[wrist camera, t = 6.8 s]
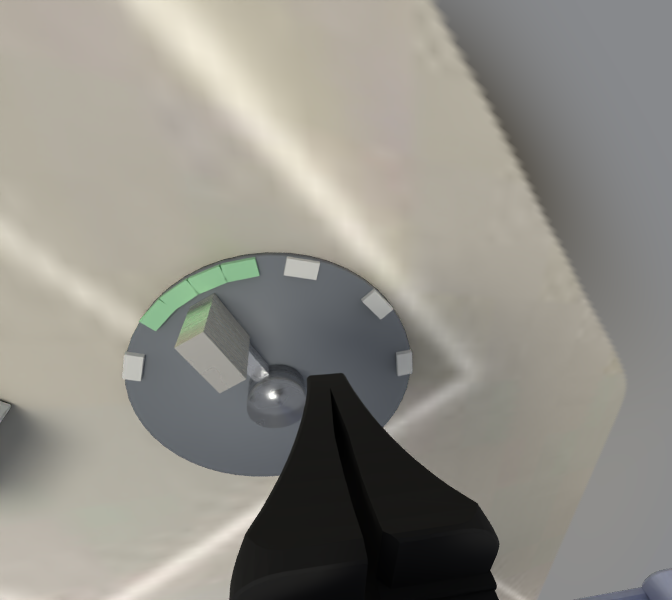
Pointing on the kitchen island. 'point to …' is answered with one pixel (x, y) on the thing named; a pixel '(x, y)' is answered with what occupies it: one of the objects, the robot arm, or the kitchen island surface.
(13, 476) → the kitchen island surface
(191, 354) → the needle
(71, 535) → the kitchen island surface
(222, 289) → the dial
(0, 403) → the small box
